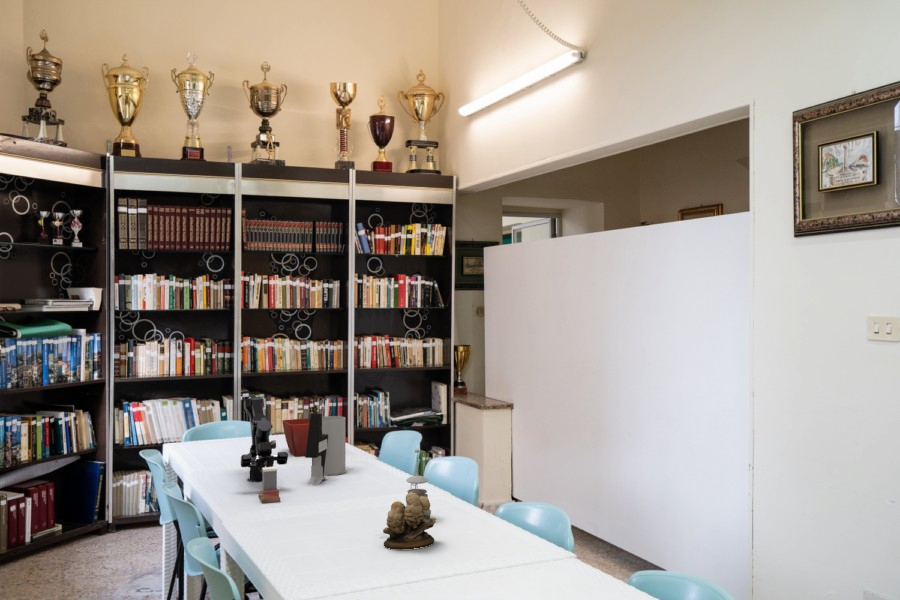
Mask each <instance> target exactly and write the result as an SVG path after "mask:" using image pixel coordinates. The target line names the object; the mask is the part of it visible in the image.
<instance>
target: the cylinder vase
mask: <svg viewBox="0 0 900 600" xmlns="http://www.w3.org/2000/svg"><path fill="white" fill-rule="evenodd" d="M322 434H328V442H327V451H326V459H325V465H326V466H325V475H324V476H338V475H342V474H343V475H344V474H345V473H346V417H345V416H339V415H327V416H322Z"/></svg>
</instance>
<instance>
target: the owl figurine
mask: <svg viewBox="0 0 900 600" xmlns="http://www.w3.org/2000/svg"><path fill="white" fill-rule="evenodd" d="M405 503H406V504H407V505H405V504H404V503H403V502H401V501H398V500H397V501H393V503H392V504H391V505H390V510H389V511H388V512H387V518H386V526H387V527H384V528H383V529H382V533H384V534H385V535H389V537H387V538H386V539H385V540H384V542H383V546H385V547H384V548H386V547H387V548H386V549H388V548H390V549H389V550H391V549H412V550H415V549H414V548H419V549H421V548H420V547H424V548H426V547H425V546H428V547H430V546H432V545H433V544H434V543H435V538H434V537H433V536H432V535H431V534H429V533H428V532H427V531H426V530H428V529H429V530H430V529H432V528H433V527H434V525H435V524H436V522H437V521H436V518H435V517H431V514H432V510H431V509H430V508H431V502H430V500H429V497H428V498H427V497H424V496H421V497H419V496H418V495H417V494H416V493H412V492H410V493H408V492H407V493H406V495H405ZM431 544H432V545H431ZM429 545H430V546H429Z"/></svg>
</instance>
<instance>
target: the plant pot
mask: <svg viewBox="0 0 900 600" xmlns="http://www.w3.org/2000/svg"><path fill="white" fill-rule="evenodd" d="M281 422H282V429H283V432H284V433H283V434H284V437H285V441H286V444H287V447H288V450H289V453H291V455H293V456H294V457H305V455H306V447H307V439H308V430H309V429H310V428H309V422H310V417H308V418H295V419H294V418H293V419H291V418H290V419H282V421H281Z"/></svg>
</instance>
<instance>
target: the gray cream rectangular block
mask: <svg viewBox="0 0 900 600" xmlns="http://www.w3.org/2000/svg"><path fill="white" fill-rule="evenodd" d="M262 470H263V481H262V492H263V491H269V490H278V485H277V484H278V481H277V480H278V474H277V473H278V472H277V471H278V468H277V466H273V467H266V466H265V467H264V468H262Z"/></svg>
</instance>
